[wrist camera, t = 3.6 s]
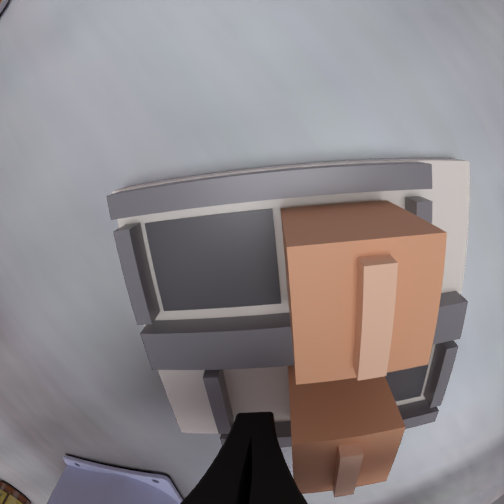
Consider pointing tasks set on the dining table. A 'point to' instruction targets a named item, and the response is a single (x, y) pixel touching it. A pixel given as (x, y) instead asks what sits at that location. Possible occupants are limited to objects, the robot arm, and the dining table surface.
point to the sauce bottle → (11, 495)
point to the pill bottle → (2, 4)
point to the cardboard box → (361, 289)
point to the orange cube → (342, 433)
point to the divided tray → (267, 280)
